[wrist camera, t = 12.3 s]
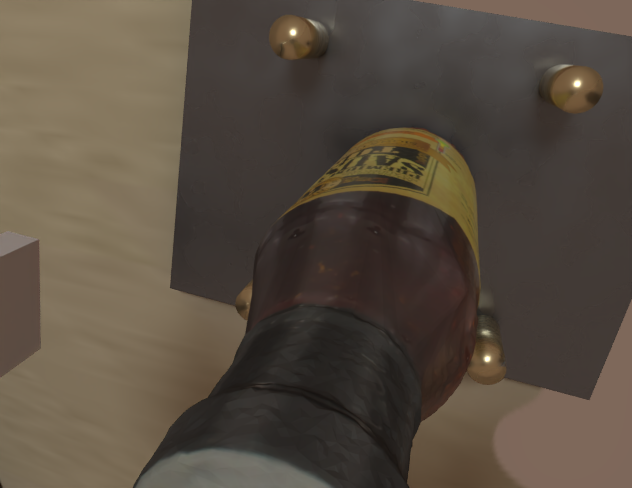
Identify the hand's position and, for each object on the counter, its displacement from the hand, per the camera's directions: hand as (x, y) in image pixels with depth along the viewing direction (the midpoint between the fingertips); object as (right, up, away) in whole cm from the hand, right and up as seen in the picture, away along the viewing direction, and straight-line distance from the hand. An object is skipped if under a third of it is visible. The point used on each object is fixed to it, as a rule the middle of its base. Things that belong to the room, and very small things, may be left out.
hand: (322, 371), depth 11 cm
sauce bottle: (+4, +5, +14) cm, 16 cm away
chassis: (+4, +5, +15) cm, 17 cm away
